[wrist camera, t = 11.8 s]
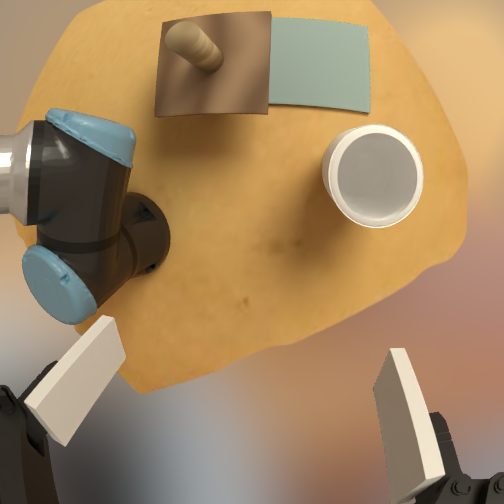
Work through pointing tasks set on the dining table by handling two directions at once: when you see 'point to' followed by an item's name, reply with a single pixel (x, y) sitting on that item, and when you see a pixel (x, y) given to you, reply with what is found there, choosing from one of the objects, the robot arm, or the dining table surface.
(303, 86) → the mat
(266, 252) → the dining table surface
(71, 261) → the robot arm
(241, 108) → the lid
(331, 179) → the jar
